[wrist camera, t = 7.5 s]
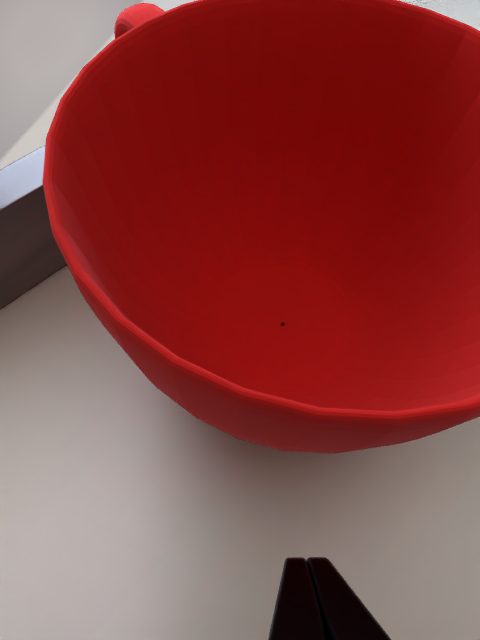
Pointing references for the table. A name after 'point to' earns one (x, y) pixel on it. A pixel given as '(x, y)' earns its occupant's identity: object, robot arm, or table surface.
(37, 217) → the corner guide
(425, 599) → the table surface
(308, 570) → the robot arm
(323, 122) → the ceramic cup
